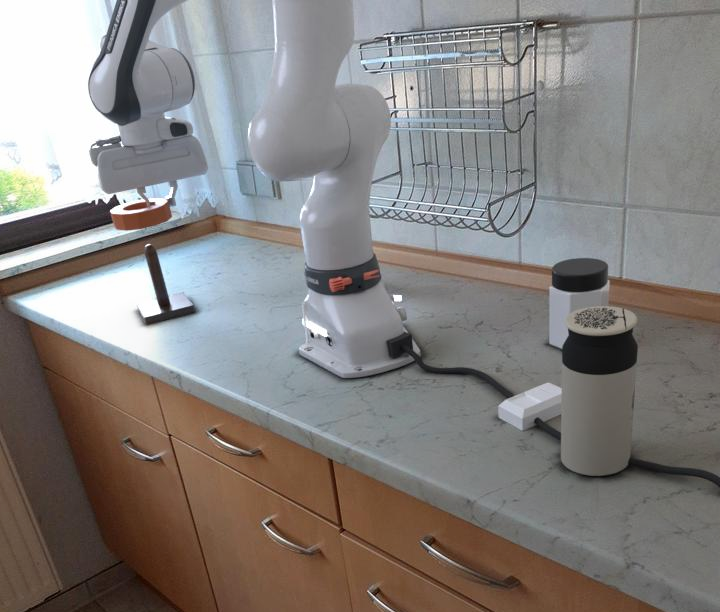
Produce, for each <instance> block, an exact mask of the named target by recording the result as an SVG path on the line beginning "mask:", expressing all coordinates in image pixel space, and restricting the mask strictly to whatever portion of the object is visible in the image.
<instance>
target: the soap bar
mask: <svg viewBox="0 0 720 612" xmlns="http://www.w3.org/2000/svg"><path fill="white" fill-rule="evenodd" d="M561 405H562V387H559V386H558V385H555V384H553V383H551V382H546V383H543V384H541V385H538V386H536V387H535V386H534V387H533V388H531V389H528V390H525V391H523V392H521V393H519V394H516V395H514V396H513V397H511V398H506V399H504V401H502V402H501V403H500V404H499V405H498V406H497V408H498V409H497V410H498V411H497V413H498V419H500V420H502V421H504V422H506V423H508V424H509V425H510V426H513V427H515V428H516V429H518V430H519V431H522V432H523V431H526V430H528V429H531V428H533V427H535V426H537V425H536V424H535V423H534V420H535V418H537V417H538V418H540V419H541V420H542V421H543V422H545V423H546V421H549V420H551V419H554V418H556V417H558V416H561Z"/></svg>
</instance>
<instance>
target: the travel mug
mask: <svg viewBox="0 0 720 612" xmlns="http://www.w3.org/2000/svg"><path fill="white" fill-rule="evenodd" d="M637 323H638V317H637V315H636V314H635V313H634V312H633V311H631V310H629V309H626V308H623V307H619V306H612V305H611V306H610V305H609V306H595V307H588V308H583V309H579V310H576V311H574V312H572V313H570V314H569V315H568V316H567V317H566V319H565V325H566V327H567V328H568V333H569V335H568V337H567V339H566V341H565V342H564V344H563V346H562V349H561V352H562V353H561V388H562V405H561V415H560V416H561V417H560V422H561V423H560V432H561V441H560V461H561V463H562V464H563V466H564V467H566V468H567V469H568V470H570V471H572V472H574V473H576V474H579V475H584V476H590V477H594V476H595V477H601V476H609V475H613V474H616V473H619V472H621V471H623V470H625V469H626V468H627V467H628V466H629V465H628V461H629V458H631V451H632V438H633V423H634V410H635V409H634V407H635V393H636V382H637V381H636V378H637V365H638V351H639V345H638V343H637V341H636V338H635V337H634V334H633V332H634V327H635V326H636V325H637Z"/></svg>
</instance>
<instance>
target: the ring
mask: <svg viewBox="0 0 720 612" xmlns="http://www.w3.org/2000/svg"><path fill="white" fill-rule="evenodd" d="M148 199H149V200H152V199H153V200H154V201H155V204H154V205H153V206H150V207H147V204H146V201H145V200H144V199H143V198H141V199H137V200H133V201H128V202H124V203H121V204H119V205H116V206H114V207H113V208H112V209H110V210H109V214H110V216H111V221H112V224H113V227H114V228H115V229H116V230H118V231H127V232H128V231H136V230H138V231H139V230H144V229H148V228H152V227H156V226H159V225H162V224H165V223H166V222H169V220H170V219H172V218H173V215H172V211H171V207H170V206H169V202H168V201H167V200H166V198H164V197H151V198H148Z"/></svg>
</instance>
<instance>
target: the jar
mask: <svg viewBox="0 0 720 612" xmlns="http://www.w3.org/2000/svg"><path fill="white" fill-rule="evenodd" d="M610 283H611V281H610V279H609V264H608V263H607V262H606V261H604V260H602V259H598V258H592V257H577V258H569V259H565V260H564V259H563V260H561V261H558V262H556V263H555V264H553V266H552V267H551V285H550V286H549V291H548V292H549V293H548V294H549V295H548V296H549V297H548V298H549V299H548V300H549V301H548V302H549V303H548V304H549V305H548V306H549V309H548V310H549V311H548V313H549V317H548V318H549V319H548V321H549V323H548V328H549V330H548V331H549V332H548V335H549V336H548V338H549V340H548V343H549V345H550V346H553V347H556V348H558V349H560V350H562V346H563V344H564V342H565V341H566V339H567V337H568V335H569V333H568V328H567V327H566V325H565V319H566V317H567V316H568V315H569V314H570V313H572V312H574V311H576V310H579V309H583V308H588V307H595V306H610V305H609V304H610Z"/></svg>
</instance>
